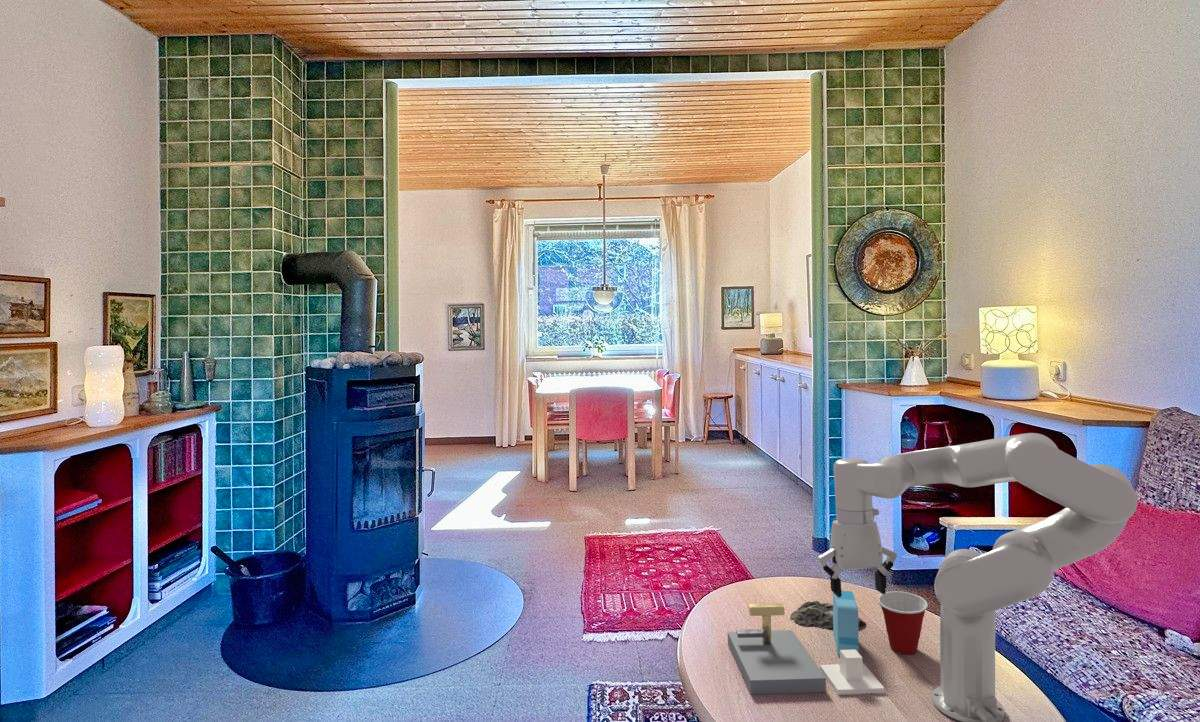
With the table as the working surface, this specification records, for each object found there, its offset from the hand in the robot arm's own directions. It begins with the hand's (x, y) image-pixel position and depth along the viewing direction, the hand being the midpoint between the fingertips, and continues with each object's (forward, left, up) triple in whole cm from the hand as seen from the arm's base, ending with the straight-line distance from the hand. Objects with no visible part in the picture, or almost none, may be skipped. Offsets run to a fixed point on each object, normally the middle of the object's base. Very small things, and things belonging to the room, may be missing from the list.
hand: (858, 593), depth 137 cm
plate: (+6, +17, -19) cm, 26 cm away
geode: (+30, -4, -20) cm, 36 cm away
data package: (+14, -3, -19) cm, 24 cm away
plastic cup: (+12, -16, -19) cm, 27 cm away
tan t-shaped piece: (+11, +19, -16) cm, 27 cm away
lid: (-1, +2, -19) cm, 19 cm away
